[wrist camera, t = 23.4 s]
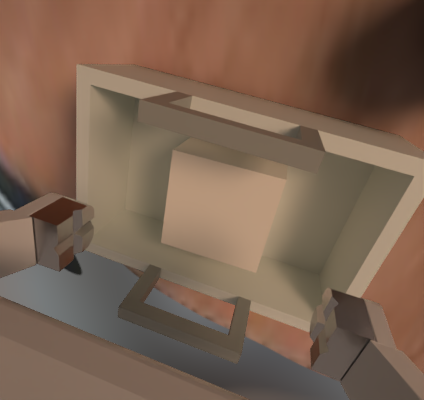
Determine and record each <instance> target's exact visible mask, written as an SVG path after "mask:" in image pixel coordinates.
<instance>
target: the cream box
mask: <svg viewBox="0 0 424 400" xmlns="http://www.w3.org/2000/svg"><path fill="white" fill-rule="evenodd" d="M287 167H288V165H285V164H281V163H278V162H274V161H271V160H268V159H264V158H261V157H257V156H254V155H251V154H247V153H244V152H240V151H237V150H234V149H230V148H227V147H223V146H220V145H217V144H213V143H210V142H206V141H203V140H200V139H196V138H193V137H191V138H189V139H188V140H186V141H185V142H183V143H182V144H180V145H179V146H177V147H176V148H175V149H173V152H172V160H171V168H170V175H169V183H168V191H167V199H166V207H165V215H164V222H163V230H162V238H161V243H163V244H166V245H170V246H173V247H176V248H179V249H182V250H185V251H188V252H192V253H195V254H198V255H201V256H204V257H207V258H211V259H214V260H217V261H220V262H223V263H226V264H229V265H233V266H236V267H239V268H242V269H245V270H248V271H252V272H255V273H256V272H257V269H258V265H259V262H260V259H261V256H262V253H263V250H264V247H265V244H266V241H267V238H268V235H269V232H270V229H271V226H272V223H273V220H274V217H275V214H276V211H277V208H278V205H279V202H280V199H281V195H282V192H283V189H284V186H285V183H286V180H287Z"/></svg>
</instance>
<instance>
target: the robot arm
mask: <svg viewBox="0 0 424 400" xmlns="http://www.w3.org/2000/svg"><path fill="white" fill-rule="evenodd" d="M93 218H94V208H93V207H92V206H91V205H88V204H85V203H83V202H80V201H77V200H75V199H72V198H69V197H66V196H63V195H60V194H58V193H51V192H50V193H48V194H46V195H44V196H42V197H40V198H39V199H37V200H35V201H33V202H31V203H29V204H27V205H25V206H23V207H21V208H19V209H17V210H15V211H13V210H3V211H0V278H2V277H4V276H7V275H10V274H13V273H15V272H18V271H21V270H24V269H26V268H29V267H32V266H35V265H36V264H39V265H42V266H45V267H48V268H51V269H54V270H56V271H61V270H62V269H63V268H64V267H65V266H67V265H68V264H69V263H70V262H71V261H72V260H73V259H74V254H76V253H80V252H83V251H84V250H85V249H86V248H87V247H88V246H89V244H90V243H91V241H92V239H93V235H94V227H93V225H92V223H91V220H92V219H93ZM322 303H323V304H321V305H319V306H317V307H316V309H315V311H314V313H313V315H312V319H311V322H310V337H311V339H312V340H313V342H314V343H313V345H312V347H311V348H310V354H311V369H313V370H315V371H317V372H320V373H322V374H325V375H327V376H329V377H332V378H334V379H337V380H339V381H341V385H342V386H343V388H344V390H345V392H346V394H347V396H348V398H349V399H350V400H424V374H423V373H422V372H421V371H420V370H419V369H418V368H417V367H416V365H415V364H414V363H413V362H412V361H411V360H410V359H409V358H408V357H407V356H406V355H405V354H404V353H403V351H400V350H397V348H396V346H395V343H394V340H393V337H392V334H391V331H390V328H389V325H388V323H387V320H386V317H385V314H384V311H383V308H382V306H381V305H380V304H379V303H376V302H373V301H370V300H366V299H363V298H358V297H355V296H352V295H349V294H346V293H344V292H341V291H338V290H335V289H332V288H329V287H328V288H327V289H326V290H325V292H324V294H323V295H322ZM0 400H249V399H247V398H245V397H242V396H240V395H237V394H235V393H233V392H230V391H228V390H225V389H223V388H221V387H218V386H216V385H213V384H210V383H208V382H206V381H203V380H201V379H199V378H196V377H194V376H191V375H189V374H187V373H184V372H182V371H179V370H177V369H175V368H172V367H170V366H167V365H165V364H162V363H160V362H157V361H155V360H153V359H151V358H148V357H146V356H143V355H141V354H138V353H136V352H134V351H131V350H129V349H126V348H124V347H121V346H119V345H117V344H114V343H112V342H109V341H107V340H105V339H102V338H100V337H97V336H95V335H92V334H90V333H88V332H85V331H83V330H80V329H78V328H75V327H73V326H71V325H68V324H66V323H64V322H61V321H59V320H56V319H54V318H52V317H49V316H47V315H44V314H42V313H40V312H37V311H35V310H32V309H30V308H27V307H25V306H22V305H20V304H18V303H15V302H13V301H10V300H8V299H6V298H3V297H1V296H0Z"/></svg>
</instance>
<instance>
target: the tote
mask: <svg viewBox="0 0 424 400" xmlns="http://www.w3.org/2000/svg"><path fill="white" fill-rule="evenodd" d="M191 137H193V138H196V139H200V140H203V141H206V142H210V143H213V144H217V145H220V146H223V147H227V148H230V149H234V150H237V151H240V152H244V153H247V154H251V155H254V156H257V157H261V158H264V159H268V160H271V161H274V162H278V163H281V164H285V165H288V167H287V180H286V183H285V186H284V189H283V192H282V195H281V199H280V202H279V205H278V208H277V211H276V214H275V217H274V220H273V223H272V226H271V229H270V232H269V235H268V238H267V241H266V244H265V247H264V250H263V253H262V256H261V259H260V262H259V265H258V269H257V272H256V273H255V272H252V271H248V270H245V269H242V268H239V267H236V266H233V265H229V264H226V263H223V262H220V261H217V260H214V259H211V258H207V257H204V256H201V255H198V254H195V253H192V252H188V251H185V250H182V249H179V248H176V247H173V246H170V245H166V244H163V243H161V238H162V230H163V222H164V215H165V207H166V199H167V191H168V183H169V175H170V168H171V160H172V152H173V149H175V148H176V147H177V146H179V145H180V144H182V143H183V142H185V141H186V140H188V139H189V138H191ZM423 198H424V151H422V150H421V149H419V148H418V147H416V146H415V145H413V144H412V143H410V142H409V141H407V140H406V139H404V138H403V137H401V136H399V135H396V134H392V133H388V132H385V131H381V130H377V129H373V128H370V127H366V126H362V125H358V124H355V123H351V122H347V121H344V120H340V119H336V118H332V117H329V116H325V115H321V114H317V113H314V112H310V111H306V110H302V109H299V108H295V107H291V106H287V105H284V104H280V103H276V102H273V101H269V100H265V99H261V98H258V97H254V96H250V95H246V94H243V93H239V92H235V91H231V90H228V89H224V88H220V87H216V86H213V85H209V84H205V83H201V82H198V81H194V80H190V79H187V78H183V77H179V76H175V75H172V74H168V73H164V72H160V71H157V70H153V69H149V68H145V67H142V66H138V65H130V64H77V90H76V200H77V201H80V202H83V203H85V204H88V205H91V206H92V207H93V208H94V218H93V219H92V220H91V223H92V225H93V227H94V235H93V239H92V241H91V243H90V244H89V246H88V247H87V248H86V249H85V250H86V251H89V252H91V253H94V254H97V255H99V256H102V257H105V258H108V259H110V260H113V261H116V262H119V263H121V264H124V265H127V266H129V267H132V268H135V269H138V270H140V271H143V272H144V273H143V274H142V276H141V277H140V278H139V280H138V281H137V283H136V284H135V285H134V287H133V288H132V290H131V291H130V292H129V294H128V295H127V297H126V298H125V299H124V300H123V302H122V303H121V305H120V306H119V309H118V317H119V318H122V319H124V320H127V321H129V322H132V323H134V324H137V325H139V326H142V327H144V328H147V329H150V330H152V331H155V332H157V333H160V334H162V335H165V336H167V337H170V338H172V339H175V340H177V341H180V342H182V343H185V344H188V345H190V346H193V347H195V348H198V349H200V350H203V351H205V352H208V353H211V354H213V355H216V356H218V357H221V358H223V359H226V360H228V361H231V362H234V363H236V364H237V363H238V361H239V358H240V356H241V353H242V348H243V342H244V337H245V331H246V326H247V321H248V315H249V310H250V311H253V312H255V313H258V314H261V315H263V316H266V317H269V318H272V319H274V320H277V321H280V322H283V323H285V324H288V325H291V326H294V327H296V328H299V329H302V330H304V331H307V332H310V322H311V319H312V315H313V313H314V311H315V309H316V307H317V306H319V305H321V304H323V303H322V295H323V294H324V292H325V290H326V289H327V288H328V287H329V288H332V289H335V290H338V291H341V292H344V293H346V294H349V295H352V296H355V297H358V298H361V296H362V295H363V293H364V292H365V290H366V288H367V287H368V285H369V284H370V282H371V280H372V279H373V277H374V276H375V274H376V272H377V271H378V269H379V268H380V266H381V265H382V263H383V261H384V260H385V258H386V257H387V255H388V253H389V252H390V250H391V249H392V247H393V245H394V244H395V242H396V241H397V239H398V237H399V236H400V234H401V233H402V231H403V230H404V228H405V226H406V225H407V223H408V222H409V220H410V218H411V217H412V215H413V214H414V212H415V210H416V209H417V207H418V206H419V204H420V202H421V201H422V199H423ZM159 278H162V279H165V280H168V281H170V282H173V283H176V284H179V285H181V286H184V287H187V288H190V289H192V290H195V291H198V292H201V293H203V294H206V295H209V296H211V297H214V298H217V299H220V300H222V301H225V302H228V303H231V304H233V305H235V309H234V313H233V317H232V322H231V326H230V330H229V334H228V335H226V334H224V333H221V332H219V331H216V330H213V329H211V328H208V327H205V326H202V325H200V324H198V323H195V322H192V321H190V320H187V319H184V318H182V317H179V316H176V315H174V314H171V313H169V312H166V311H163V310H161V309H158V308H155V307H153V306H150V305H148V304H145V303H144V301H145V300H146V298H147V296H148V295H149V294H150V292H151V290H152V289H153V287H154V286H155V284H156V283H157V281H158V279H159Z"/></svg>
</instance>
